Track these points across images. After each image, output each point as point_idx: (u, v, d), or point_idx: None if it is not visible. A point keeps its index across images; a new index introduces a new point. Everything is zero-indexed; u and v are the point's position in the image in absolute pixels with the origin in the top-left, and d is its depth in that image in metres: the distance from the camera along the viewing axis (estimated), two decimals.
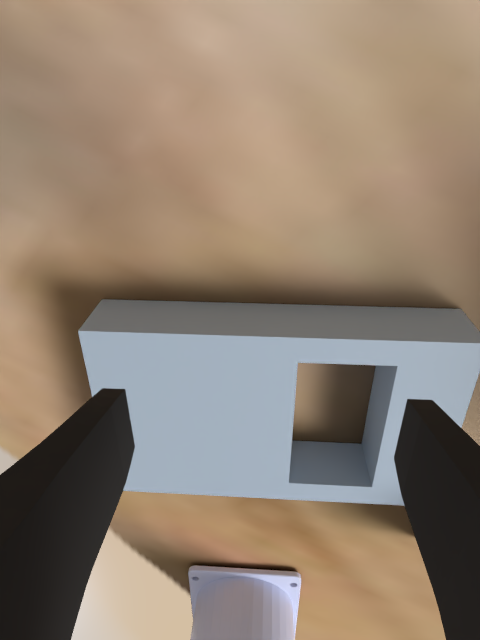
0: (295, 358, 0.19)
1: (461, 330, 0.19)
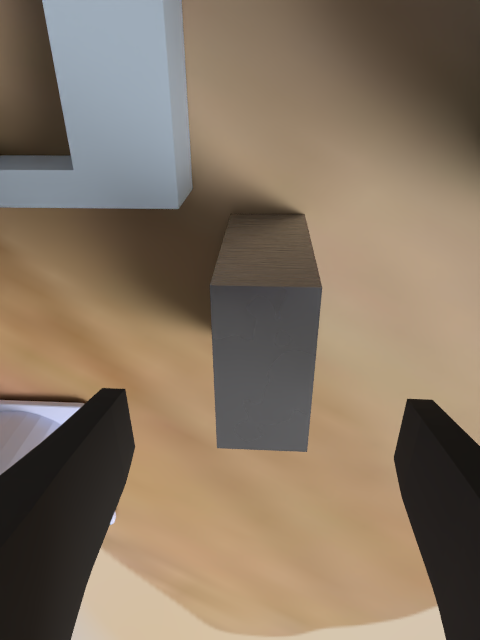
0: None
1: None
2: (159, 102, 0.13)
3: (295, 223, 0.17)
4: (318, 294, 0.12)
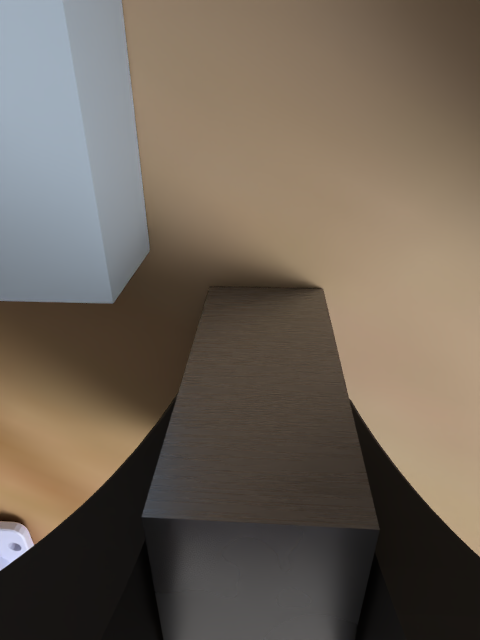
0: None
1: None
2: (63, 125, 0.07)
3: (310, 310, 0.10)
4: (371, 540, 0.06)
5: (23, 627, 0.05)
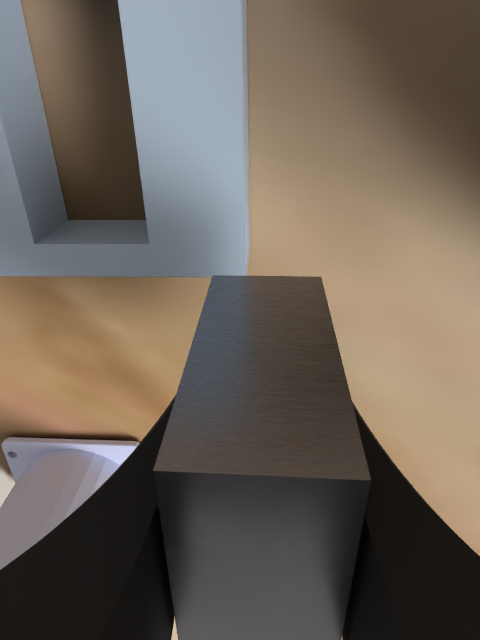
0: None
1: None
2: (234, 185, 0.14)
3: (308, 296, 0.11)
4: (363, 490, 0.06)
5: (21, 628, 0.05)
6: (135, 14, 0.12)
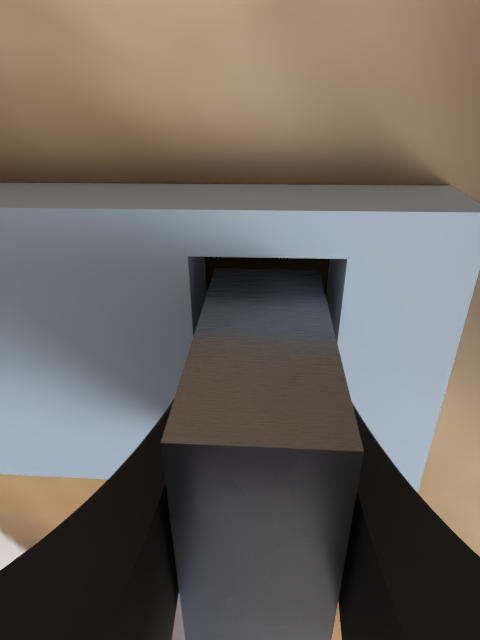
0: (183, 248, 0.12)
1: (450, 201, 0.12)
2: (425, 424, 0.14)
3: (306, 288, 0.11)
4: (356, 461, 0.06)
5: (23, 628, 0.05)
6: (360, 288, 0.12)
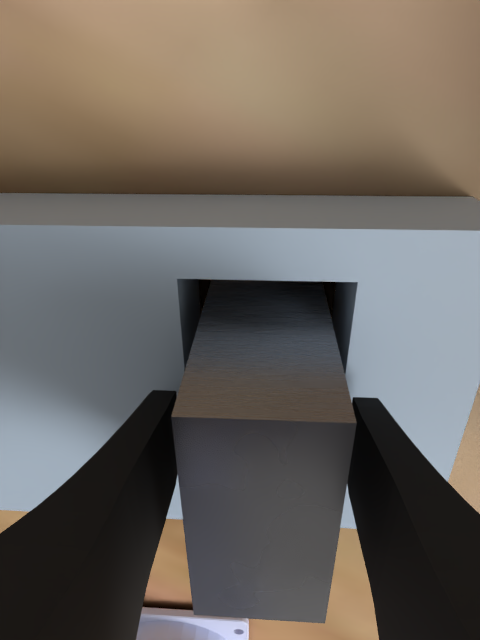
0: (171, 270, 0.10)
1: (475, 217, 0.10)
2: (442, 460, 0.13)
3: None
4: (350, 433, 0.07)
5: None
6: (372, 314, 0.10)
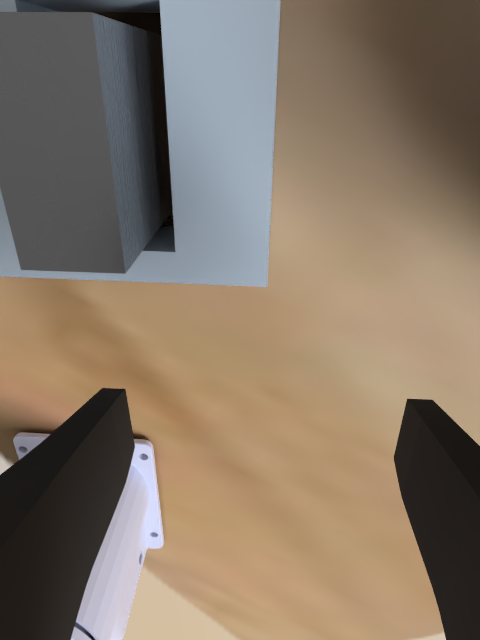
0: None
1: None
2: (261, 199, 0.15)
3: None
4: (89, 23, 0.09)
5: None
6: (176, 35, 0.13)
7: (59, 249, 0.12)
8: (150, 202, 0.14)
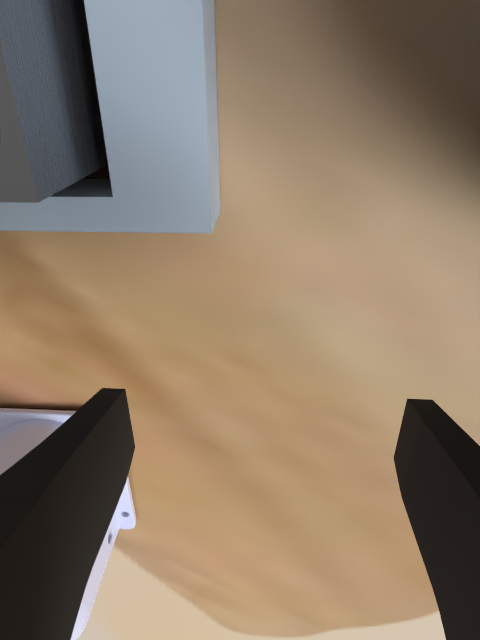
0: None
1: None
2: (197, 135, 0.14)
3: None
4: None
5: None
6: None
7: None
8: (78, 139, 0.14)
